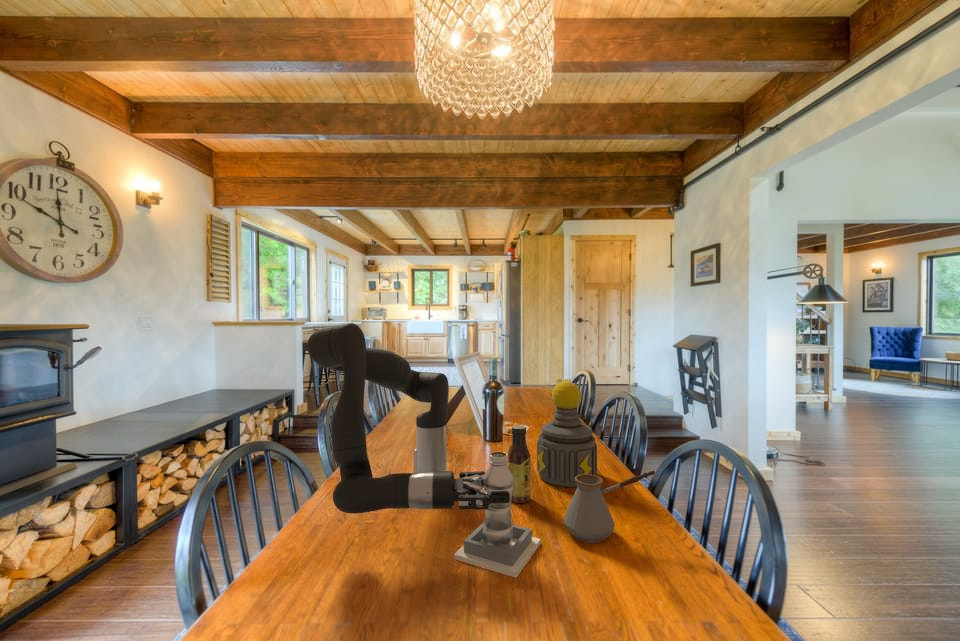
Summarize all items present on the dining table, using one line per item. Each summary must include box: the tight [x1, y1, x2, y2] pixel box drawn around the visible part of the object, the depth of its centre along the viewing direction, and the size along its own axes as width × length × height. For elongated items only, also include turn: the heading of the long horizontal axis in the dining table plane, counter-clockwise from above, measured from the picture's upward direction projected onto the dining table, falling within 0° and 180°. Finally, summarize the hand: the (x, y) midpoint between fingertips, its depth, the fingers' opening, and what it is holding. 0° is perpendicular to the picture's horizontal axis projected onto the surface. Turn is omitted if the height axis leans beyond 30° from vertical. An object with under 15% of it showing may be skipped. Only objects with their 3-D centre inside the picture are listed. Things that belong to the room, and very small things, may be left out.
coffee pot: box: [563, 470, 659, 544], centre depth 98 cm, size 21×12×15 cm, turn 87°
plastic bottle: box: [482, 451, 514, 549], centre depth 91 cm, size 6×7×20 cm
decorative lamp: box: [536, 380, 598, 488], centre depth 134 cm, size 19×19×30 cm
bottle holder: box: [453, 520, 542, 579], centre depth 92 cm, size 14×14×4 cm
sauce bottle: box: [507, 425, 531, 504], centre depth 118 cm, size 7×6×20 cm
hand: (507, 488), depth 92 cm, fingers open, 8 cm apart
